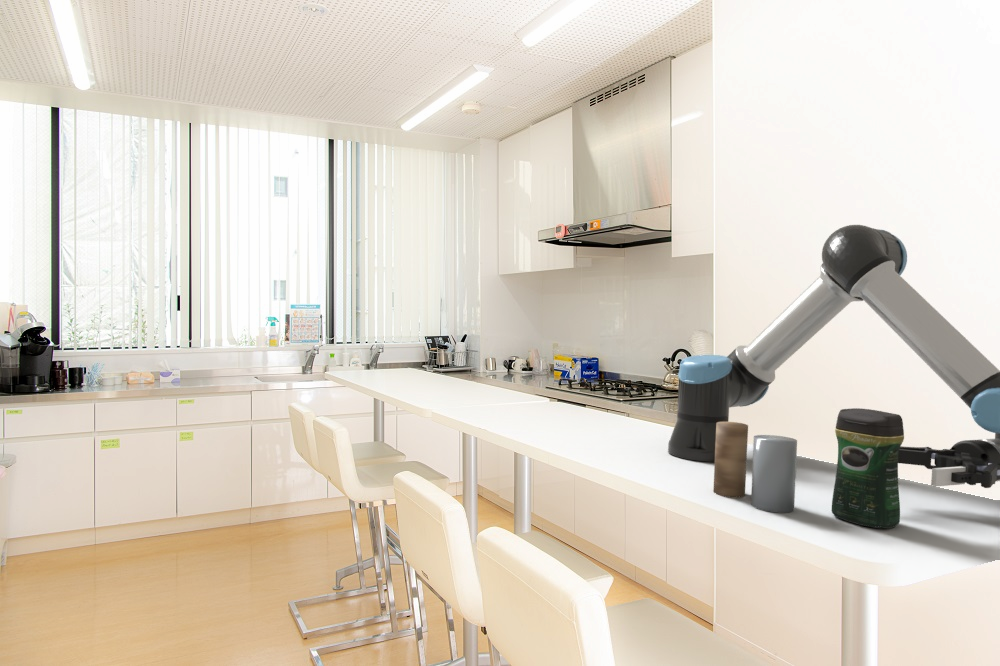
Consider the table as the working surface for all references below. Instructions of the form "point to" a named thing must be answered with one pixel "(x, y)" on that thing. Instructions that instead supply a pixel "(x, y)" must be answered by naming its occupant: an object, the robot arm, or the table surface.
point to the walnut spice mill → (730, 459)
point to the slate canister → (774, 473)
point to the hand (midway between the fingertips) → (894, 467)
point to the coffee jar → (868, 467)
